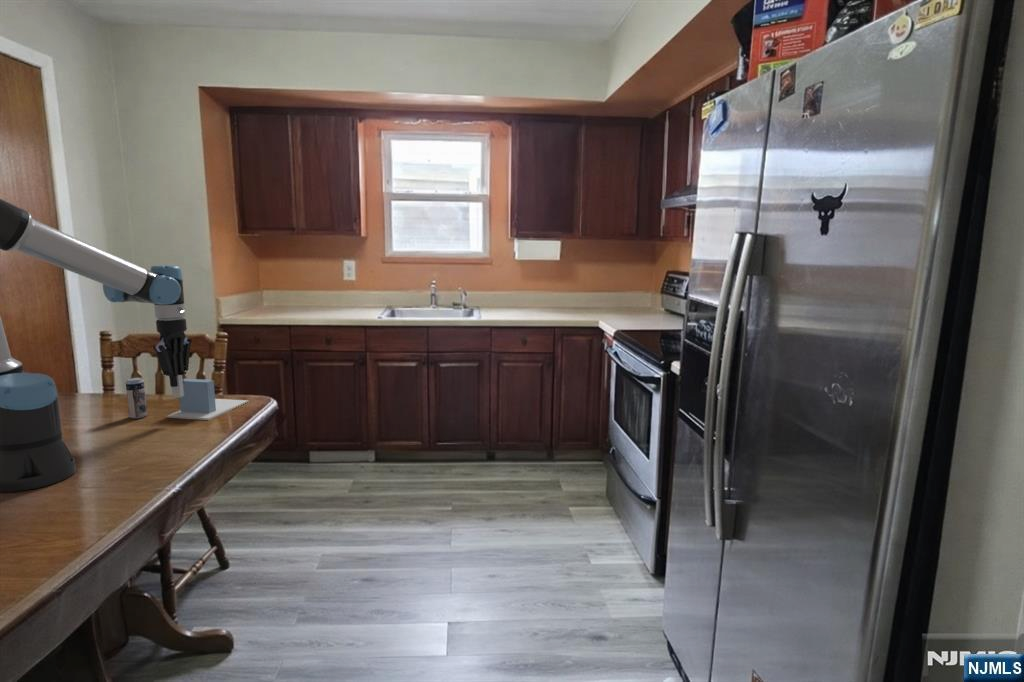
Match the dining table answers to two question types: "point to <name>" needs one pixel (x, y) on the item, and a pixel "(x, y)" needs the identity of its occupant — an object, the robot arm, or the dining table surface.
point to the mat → (221, 408)
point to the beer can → (136, 398)
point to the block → (198, 396)
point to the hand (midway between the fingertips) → (178, 396)
